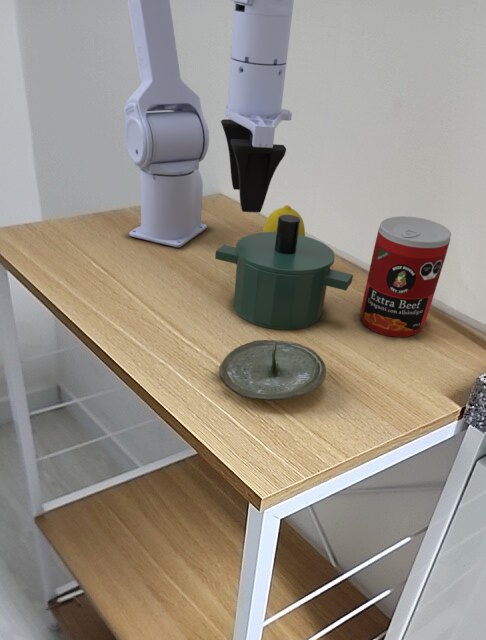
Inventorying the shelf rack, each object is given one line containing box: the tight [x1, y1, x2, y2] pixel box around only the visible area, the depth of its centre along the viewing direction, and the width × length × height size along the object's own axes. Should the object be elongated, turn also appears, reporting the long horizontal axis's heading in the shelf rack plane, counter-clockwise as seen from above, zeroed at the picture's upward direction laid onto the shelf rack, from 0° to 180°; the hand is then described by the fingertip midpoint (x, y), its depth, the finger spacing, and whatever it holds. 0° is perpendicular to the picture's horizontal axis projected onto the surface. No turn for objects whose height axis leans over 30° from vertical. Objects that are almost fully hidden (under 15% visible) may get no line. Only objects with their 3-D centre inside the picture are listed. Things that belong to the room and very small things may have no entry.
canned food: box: [360, 215, 452, 338], centre depth 72 cm, size 8×8×11 cm
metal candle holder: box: [218, 339, 327, 402], centre depth 62 cm, size 11×10×5 cm
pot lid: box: [235, 215, 336, 275], centre depth 71 cm, size 11×11×5 cm
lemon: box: [262, 204, 306, 236], centre depth 83 cm, size 6×6×8 cm
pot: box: [214, 244, 354, 331], centre depth 74 cm, size 10×16×6 cm, turn 67°
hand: (246, 199), depth 74 cm, fingers open, 7 cm apart
